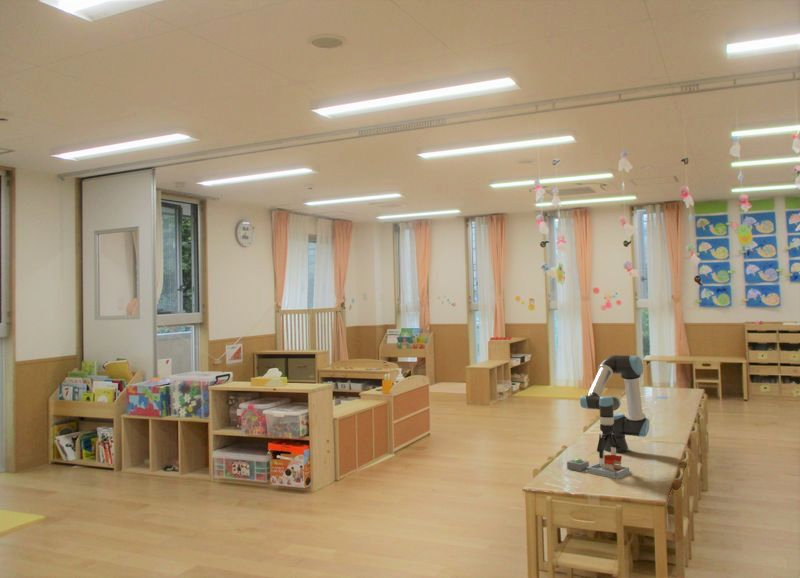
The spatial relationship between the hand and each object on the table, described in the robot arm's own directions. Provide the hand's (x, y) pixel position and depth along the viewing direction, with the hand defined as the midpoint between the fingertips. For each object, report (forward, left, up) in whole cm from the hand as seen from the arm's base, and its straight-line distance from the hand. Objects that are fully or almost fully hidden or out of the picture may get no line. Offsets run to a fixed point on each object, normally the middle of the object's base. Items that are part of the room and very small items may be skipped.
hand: (608, 461), depth 359 cm
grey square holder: (+4, -17, -6) cm, 18 cm away
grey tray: (0, 0, -6) cm, 6 cm away
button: (+4, -17, -5) cm, 18 cm away
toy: (0, +1, -6) cm, 6 cm away
